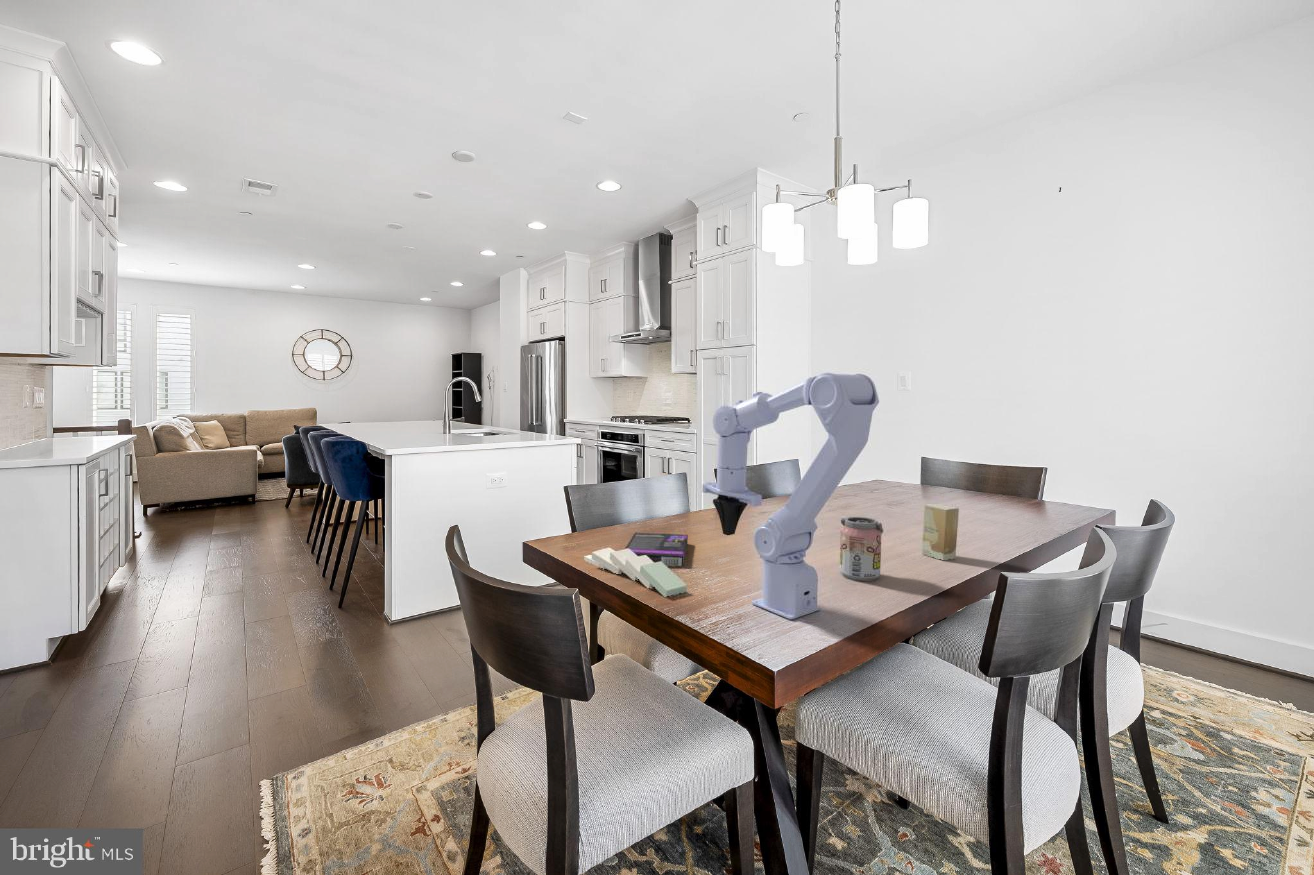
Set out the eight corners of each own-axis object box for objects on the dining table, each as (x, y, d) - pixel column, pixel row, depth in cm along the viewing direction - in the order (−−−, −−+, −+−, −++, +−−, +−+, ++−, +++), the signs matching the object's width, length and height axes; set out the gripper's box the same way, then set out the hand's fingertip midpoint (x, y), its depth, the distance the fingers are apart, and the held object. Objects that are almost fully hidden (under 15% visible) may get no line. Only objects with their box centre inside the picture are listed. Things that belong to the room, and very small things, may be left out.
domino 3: (654, 569, 118) (628, 548, 124) (635, 574, 115) (610, 552, 121) (652, 576, 118) (627, 554, 125) (634, 581, 115) (609, 558, 121)
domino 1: (623, 561, 125) (602, 552, 133) (604, 565, 122) (584, 556, 130) (623, 568, 125) (602, 559, 133) (604, 572, 123) (584, 562, 130)
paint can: (845, 566, 125) (846, 513, 124) (885, 572, 121) (887, 517, 120) (834, 577, 117) (835, 521, 116) (876, 584, 113) (878, 526, 112)
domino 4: (670, 577, 113) (645, 554, 119) (649, 582, 110) (626, 558, 117) (668, 584, 113) (644, 561, 120) (648, 589, 110) (624, 565, 117)
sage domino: (687, 585, 108) (660, 561, 115) (666, 590, 105) (640, 565, 112) (685, 592, 109) (659, 567, 115) (665, 597, 106) (639, 572, 112)
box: (683, 571, 125) (688, 546, 144) (683, 555, 124) (688, 532, 144) (621, 567, 126) (634, 543, 146) (621, 552, 126) (635, 530, 145)
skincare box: (920, 554, 135) (922, 504, 134) (933, 552, 136) (935, 502, 135) (944, 561, 129) (946, 509, 128) (957, 559, 131) (959, 507, 130)
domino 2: (635, 562, 122) (609, 547, 128) (618, 568, 118) (592, 552, 124) (634, 569, 122) (608, 553, 128) (617, 575, 119) (591, 558, 125)
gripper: (773, 470, 107) (770, 539, 109) (720, 460, 119) (718, 522, 120) (748, 474, 103) (744, 545, 104) (695, 462, 114) (693, 527, 116)
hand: (728, 533), depth 112 cm, fingers closed
